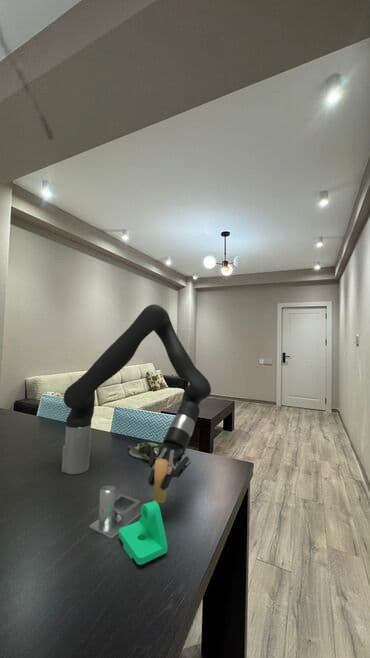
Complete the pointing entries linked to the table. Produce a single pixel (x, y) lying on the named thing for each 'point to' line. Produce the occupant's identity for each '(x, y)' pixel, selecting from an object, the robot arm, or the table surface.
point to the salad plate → (143, 450)
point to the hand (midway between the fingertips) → (156, 486)
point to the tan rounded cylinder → (159, 480)
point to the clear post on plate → (115, 511)
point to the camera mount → (145, 535)
